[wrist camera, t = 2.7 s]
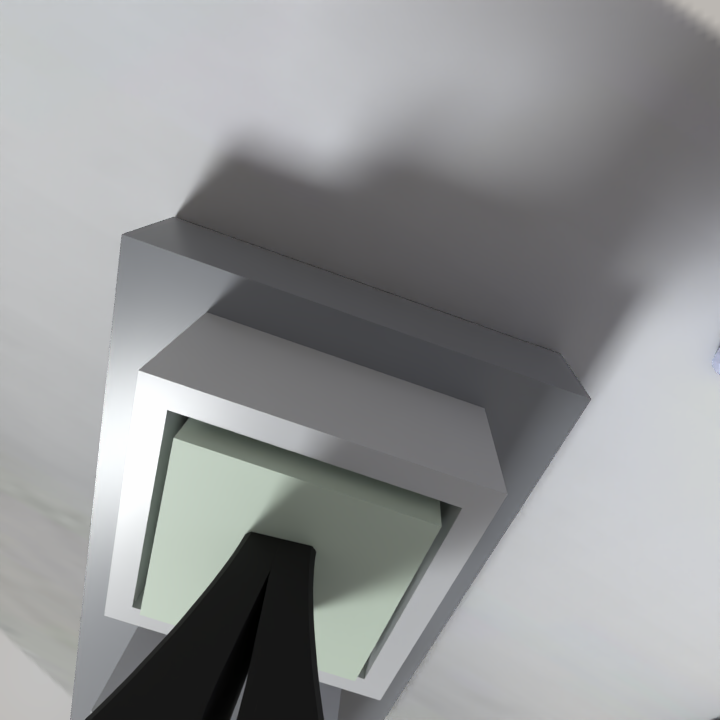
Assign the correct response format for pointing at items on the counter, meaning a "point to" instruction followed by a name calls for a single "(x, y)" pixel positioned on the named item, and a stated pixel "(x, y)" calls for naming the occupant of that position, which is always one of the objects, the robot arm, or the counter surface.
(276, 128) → the counter surface
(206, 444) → the sage key
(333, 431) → the key console
